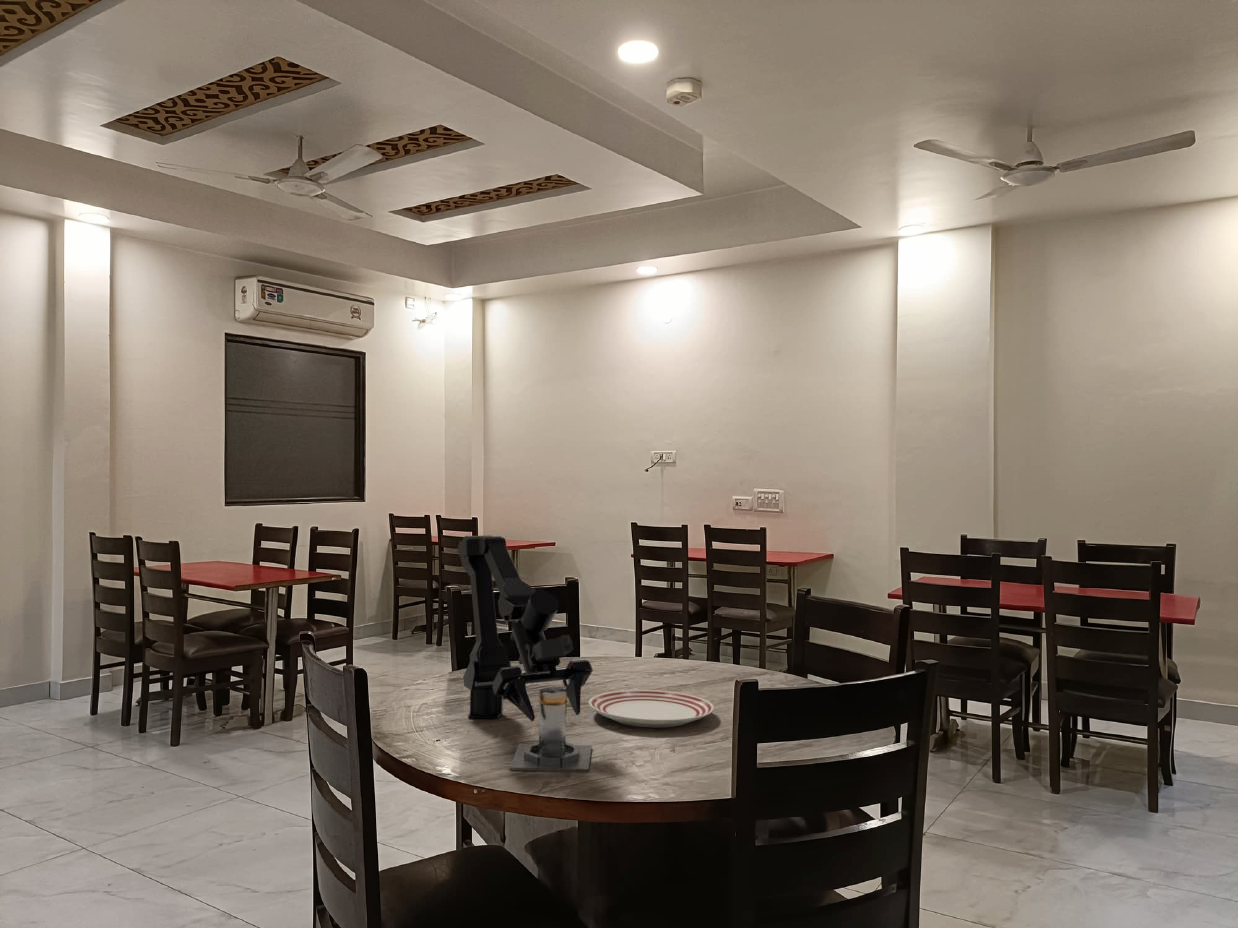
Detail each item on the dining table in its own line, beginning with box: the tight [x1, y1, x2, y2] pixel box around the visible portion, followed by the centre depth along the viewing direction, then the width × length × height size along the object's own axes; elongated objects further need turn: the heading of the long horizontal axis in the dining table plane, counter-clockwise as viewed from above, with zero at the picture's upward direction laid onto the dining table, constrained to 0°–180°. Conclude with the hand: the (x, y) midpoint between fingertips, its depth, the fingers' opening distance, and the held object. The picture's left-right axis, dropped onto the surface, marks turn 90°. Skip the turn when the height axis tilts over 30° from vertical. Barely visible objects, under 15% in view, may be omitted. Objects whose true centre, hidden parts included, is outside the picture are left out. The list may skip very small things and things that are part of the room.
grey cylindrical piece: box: [538, 687, 568, 756], centre depth 167 cm, size 5×5×12 cm
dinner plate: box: [588, 689, 715, 729], centre depth 198 cm, size 27×27×3 cm
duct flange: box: [508, 741, 593, 773], centre depth 167 cm, size 14×14×2 cm
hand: (556, 716), depth 166 cm, fingers open, 9 cm apart
